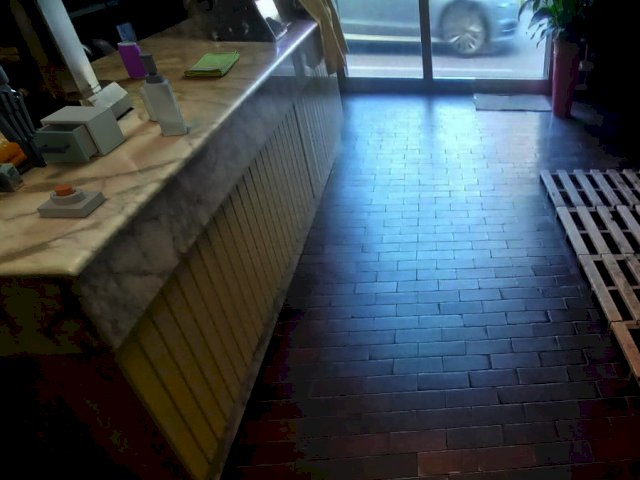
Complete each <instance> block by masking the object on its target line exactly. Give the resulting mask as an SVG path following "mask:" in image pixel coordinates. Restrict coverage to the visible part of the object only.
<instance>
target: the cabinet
mask: <svg viewBox="0 0 640 480" xmlns="http://www.w3.org/2000/svg"><path fill="white" fill-rule="evenodd" d="M39 122H40V123H41V125H42V127H44V126H46V125H48V124H86V126H87V128H88V130H89V132H90V134H91V136H92V138H93V140H94V142H95V144H96V146H97V148H98V150H99V151H97V152H96V153H95V154H93V155H92V156H95V157H96V156H97V157H98V156H100V157H103V156H106V155H107V154H108V153H110V152H112V151H113V150H114V149H115V148H117V147H118V146H119V145H122V143H124V141H126V137H125V136H124V134H123V131H122V129H121V126H120V125H119V122H118V120H117V118H116V116H115V114H114V112H113V110H112V107H111V106H82V105H78V106H77V105H66V106H64V107H63V108H61V109H59V110H57V111H55V112H52V113H51V114H50V115H47V116H46V117H43V118H42V119H39ZM92 156H91V157H92Z"/></svg>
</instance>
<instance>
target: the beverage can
mask: <svg viewBox="0 0 640 480" xmlns="http://www.w3.org/2000/svg"><path fill="white" fill-rule="evenodd" d="M117 50H118V54H119V56H120V59H121V60H122V63H123V65H124V68H125V70H126V72H127V74H128V76H129V77H130V78H131V79H132V80H133V79H134V80H143V79H145V75H147V74H148V73H147V72H146V70H145V68H144V65H143V63H142V60H141V58H140V57H139V54H142V53H143V52H142V50H141V48H140V47H139V46H138V44H137V43H136V42H135V41H121V42H118V43H117Z"/></svg>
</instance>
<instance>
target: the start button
mask: <svg viewBox="0 0 640 480" xmlns="http://www.w3.org/2000/svg"><path fill="white" fill-rule="evenodd" d="M72 187H73V186H72V184H68V183H67V184H66V183H65V184H60V185H56V186H55V187H53V191H55V192H56V194H57V196H68V195H71V194H74V193H75V191H74V190H73V188H72Z"/></svg>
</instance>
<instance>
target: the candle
mask: <svg viewBox="0 0 640 480" xmlns="http://www.w3.org/2000/svg"><path fill="white" fill-rule="evenodd" d="M138 94H139V96H140V98H141V102H142V103H143V106H144V108H145V110H146V113H147V115H148V117H149V119H150V121H152V122H158V120H157V118H156V115H155V113H154V111H153V108H152V106H151V103H150V101H149V98H148V96H147V94H146V91H145V89H144V85H141V87H140V89H139V91H138Z"/></svg>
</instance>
